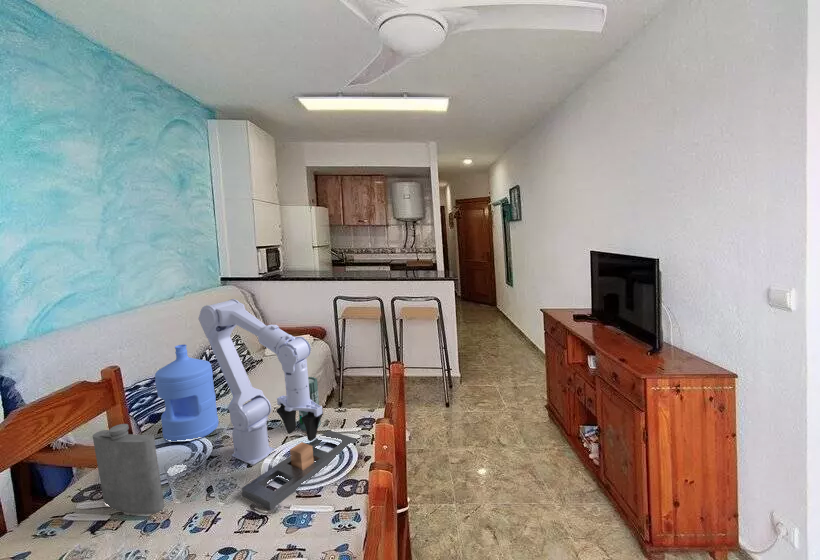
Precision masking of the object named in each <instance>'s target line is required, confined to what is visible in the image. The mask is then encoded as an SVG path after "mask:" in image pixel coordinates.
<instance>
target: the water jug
mask: <svg viewBox="0 0 820 560" xmlns="http://www.w3.org/2000/svg"><path fill="white" fill-rule="evenodd" d="M174 349H175V358H176V359H175V360H173V361H171V362H170V363H168V364H166V365H165V366H163V367H161V368H159V369H158V370H157V371H156V372H155V373H154V378H155V379H154V384H155V388H156V394H157V397H158V398H160V399H161V400H163V401H164V406H165V410H164V411H163V413H162V414H161V416H160V418H161V419H160V420H161V427H162V437H163V439H164V440H165V439H167V440H171V441H177V440H186V439H193V438H198V437H202V438H205V437H206V436H208V435H210V434H211V433H213V432H214V431H215V430H216V429H217V427H218V426H219V423H220V421H219V416H218V410H217V402H216V400H217V398H216V396H217V395H216V392H215V386H214V385H215V384H214V377H213V376H214V374H213V367H212V363H211V362H210V361H208V360H205V359H198V358H194V357H189V356H188V350H187V344H177V345H175V346H174Z"/></svg>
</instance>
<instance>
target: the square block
mask: <svg viewBox="0 0 820 560" xmlns="http://www.w3.org/2000/svg"><path fill="white" fill-rule="evenodd" d="M308 444H309V443H305V442H303V441H301V442H299V443H298V444H297V445H295V446H292V448H290V449H289V454H290V455H289V456H291V466H294V467H296V468H299V469H301V470H305V469H306V468H307V467H309V466H310V465H311V464H313V463H314V458H313V447H312V446H311V445H308Z"/></svg>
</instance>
